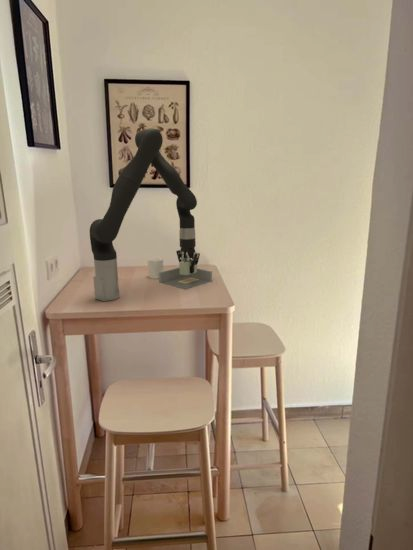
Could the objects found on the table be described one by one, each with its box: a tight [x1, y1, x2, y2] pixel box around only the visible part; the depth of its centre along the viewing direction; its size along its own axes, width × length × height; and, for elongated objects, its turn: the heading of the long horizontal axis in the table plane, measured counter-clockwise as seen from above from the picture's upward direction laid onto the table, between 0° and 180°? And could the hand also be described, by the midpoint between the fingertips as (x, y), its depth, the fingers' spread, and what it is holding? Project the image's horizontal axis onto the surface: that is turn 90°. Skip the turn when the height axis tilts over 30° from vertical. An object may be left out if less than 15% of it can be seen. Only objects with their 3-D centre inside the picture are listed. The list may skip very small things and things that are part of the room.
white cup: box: [147, 257, 164, 280], centre depth 190 cm, size 8×8×10 cm
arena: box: [158, 266, 213, 291], centre depth 181 cm, size 18×18×6 cm
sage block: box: [178, 259, 198, 276], centre depth 182 cm, size 4×8×6 cm, turn 139°
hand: (188, 272), depth 183 cm, fingers closed on sage block, 4 cm apart
